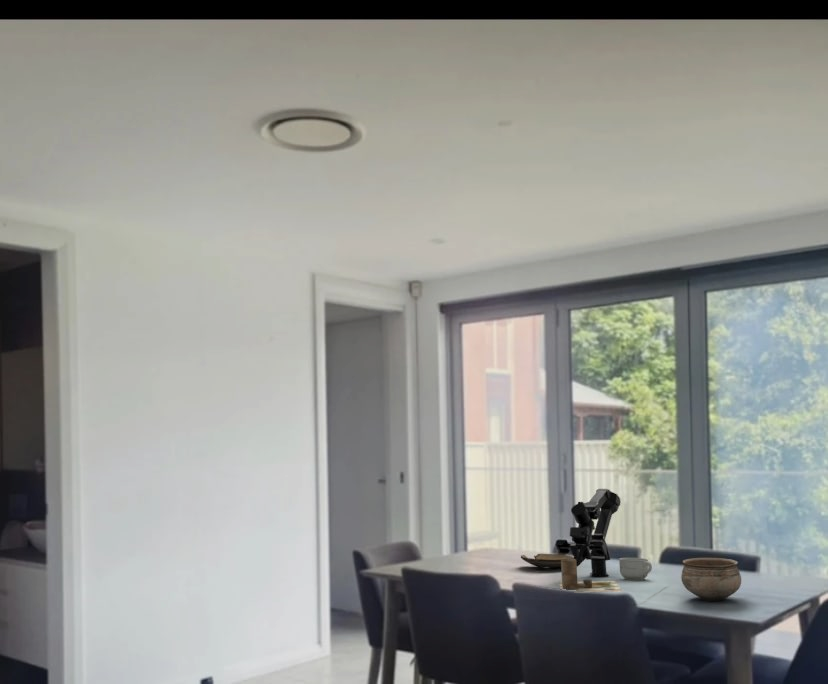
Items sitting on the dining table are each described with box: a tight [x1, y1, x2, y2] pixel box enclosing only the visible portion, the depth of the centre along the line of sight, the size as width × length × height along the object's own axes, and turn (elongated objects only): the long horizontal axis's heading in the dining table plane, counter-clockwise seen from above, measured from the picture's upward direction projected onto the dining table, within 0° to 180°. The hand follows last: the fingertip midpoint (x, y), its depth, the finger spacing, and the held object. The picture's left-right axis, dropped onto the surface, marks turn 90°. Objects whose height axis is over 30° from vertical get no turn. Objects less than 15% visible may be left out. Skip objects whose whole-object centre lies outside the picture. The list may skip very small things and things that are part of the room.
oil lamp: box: [520, 550, 574, 569], centre depth 346 cm, size 22×30×8 cm
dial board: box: [558, 580, 624, 593], centre depth 293 cm, size 20×21×1 cm
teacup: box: [618, 557, 653, 581], centre depth 308 cm, size 14×11×8 cm
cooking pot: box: [680, 557, 742, 602], centre depth 269 cm, size 25×19×12 cm
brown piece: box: [560, 559, 610, 589], centre depth 292 cm, size 18×3×10 cm, turn 101°
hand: (576, 565), depth 301 cm, fingers closed
